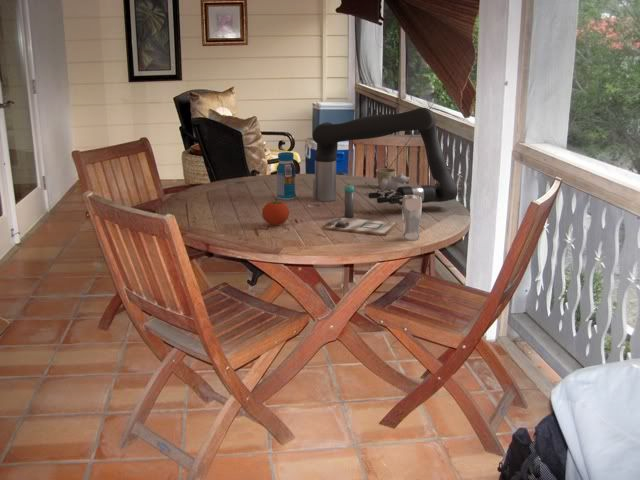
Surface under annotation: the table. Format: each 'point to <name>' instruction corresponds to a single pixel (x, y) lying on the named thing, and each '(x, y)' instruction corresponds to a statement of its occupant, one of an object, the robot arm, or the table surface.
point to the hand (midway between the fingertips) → (373, 198)
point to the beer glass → (411, 216)
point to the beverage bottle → (286, 176)
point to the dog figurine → (394, 182)
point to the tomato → (275, 213)
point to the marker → (349, 202)
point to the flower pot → (384, 174)
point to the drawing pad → (360, 226)
